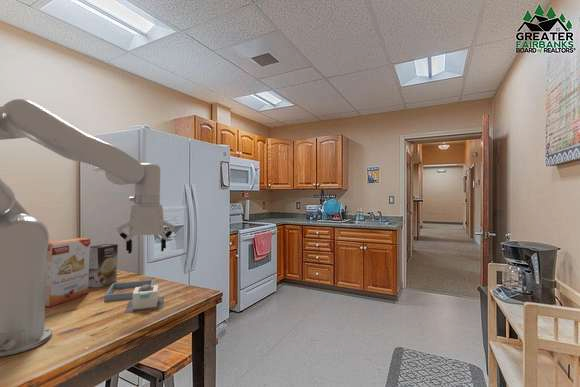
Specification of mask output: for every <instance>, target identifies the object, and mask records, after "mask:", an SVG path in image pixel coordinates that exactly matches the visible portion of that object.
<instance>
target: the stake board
mask: <svg viewBox="0 0 580 387" xmlns="http://www.w3.org/2000/svg"><path fill="white" fill-rule="evenodd" d="M150 288H151V285H142V286H141V289H142V292H143V291H150ZM132 302H133V299H130V300H128V302H127V305H126V307H125V310H124V312H123V313H124V314H130V313H137V312H145V311H151V310H154V311H155V310H158V309H159V310H160V309H164V306H165V296H158V302H157V307H150V308H142V309H135V310H132Z"/></svg>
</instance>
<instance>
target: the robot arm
mask: <svg viewBox="0 0 580 387" xmlns="http://www.w3.org/2000/svg"><path fill="white" fill-rule="evenodd" d="M26 138H27V139H29V140H30V141H32V142H35V143H37V144H38V145H40V146H43V147H44V148H46V149H48V150H49V151H51V152H53V153H55V154H57V155H58V156H61V157H63V158H65V159H68V160H71V161H74V162H78V163H85V164H87V165H90V166H93V167H95V168H97V169H98V168H99V169H101V170H102V171H104V175H105V178H106V179H107V181H109V183H112V184H114V185H118V186H121V185H122V186H123V185H134V195H133V196H130V197H129V202H133V203H134V204H131V207H130V213H129V220H128V222H126V223H123V224H121V225H120V226H117V227H116V231H117V232H118V234H119V236H120V237H121V238H122V239H124V241H126V242H125V245H126V246H125V248H126V249H125V250H126V251H127V254H131V253H132V252H133V240H132V238H133V237H134V236H155V235H156V236H157V235H159V236H160V237H161V242H160V245H161V246H160V247H161V248H160V251H161V252H164V249H167V246H166V245H167V238H169V237H170V236H171V235H172V234H173V232H174V231H175V228H176V226H175V225H174V224H172V223H170V222H167V221H165V220H164V217H165V216H164V208H163V204H160V203H161V167H160V165H159V164H157V163H149V162H148V163H147V162H142V163H141V162H139V160H138V159H136V158H134V157H133V156H131V155H129V154H128V153H127V152H125V151H123V150H122V149H120V148H118V147H116V146H114V145H113V144H110V143H108V142H105V141H103V140H101V139H99V138H96V137H94V136H92V135H90V134H87V133H85V132H84V131H82V130H80V129H79V128H76V127H75V126H74V125H72V124H70V123H69V122H67V121H66V120H63V119H62V118H60V117H58V116H57V115H56V114H53V113H51V112H50V111H49V110H47V109H46V108H44V107H42V106H40V105H38V104H37V103H35V102H32V101H31V100H29V99H24V98H23V99H22V98H18V99H12V100H10V101H8V102H6V103H5V104H3V106H0V140H2V141H3V140H5V141H6V140H15V139H26ZM165 227H167V228H169V230H168V231H166V233H165V232H164V228H165ZM126 228H128V233H129V234H127V233H125V231H124V229H126ZM49 237H50V235H49V230H48V228H47V225H46V224H45V223H44V222H43V221H41V219H38V218H37V217H33V216H31V215H30V213H29V212H28V211H27V210H26V208H24V207H23V206H22V204H21V203H20V202H19V201H18V200H17V199H16V195H15V193H14V191H13V189H12V187H10V186H9V185H8V184H7V183H6V182H4V181H3V180H2V179H1V178H0V357H6V356H11V355H16V354H20V353H23V352H26V351H28V350H31V349H34V348H37V347H39V346H40V345H43V344H45V343H46V342H47V341H49V340H50V339H51V337H52V336H53V330H52V329H51V328H50V327H45V316H46V315H45V312H46V311H45V310H46V306H45V282H46V257H47V250H48V243H49V242H50V240H49V239H50V238H49Z"/></svg>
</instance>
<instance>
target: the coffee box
mask: <svg viewBox="0 0 580 387" xmlns="http://www.w3.org/2000/svg"><path fill="white" fill-rule="evenodd" d="M118 247H119V245H118V244H116V243H114V244H113V243H104V244H98V245H92V246H91V245H90V256H89V279H88V288H89V287H90V288H97V289H98V288H101V287H104V286H107V285H110V284H113V283H117V278H118V275H117V274H118V252H119V251H118Z"/></svg>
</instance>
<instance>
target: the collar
mask: <svg viewBox="0 0 580 387" xmlns="http://www.w3.org/2000/svg"><path fill="white" fill-rule="evenodd" d="M132 292H133V298H132V300H133V302H132V310H135V309H142V308H150V307H157V302H158V297H159V284H156V285H155V284H154V285H153V286H151V288H150V291H143V292H142V289H141V287H135V288H133V291H132Z"/></svg>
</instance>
